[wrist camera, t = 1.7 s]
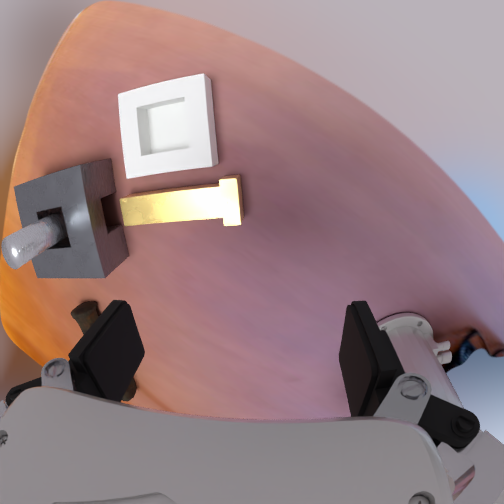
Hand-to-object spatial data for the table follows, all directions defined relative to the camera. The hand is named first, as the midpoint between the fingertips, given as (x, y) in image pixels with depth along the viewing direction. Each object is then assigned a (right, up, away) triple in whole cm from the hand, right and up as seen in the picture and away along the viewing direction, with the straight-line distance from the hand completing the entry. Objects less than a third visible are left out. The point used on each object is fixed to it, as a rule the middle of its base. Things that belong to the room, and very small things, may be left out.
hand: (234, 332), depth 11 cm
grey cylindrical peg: (-21, +8, +19) cm, 30 cm away
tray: (-8, +16, +15) cm, 23 cm away
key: (-7, +9, +18) cm, 21 cm away
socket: (-21, +8, +19) cm, 30 cm away
